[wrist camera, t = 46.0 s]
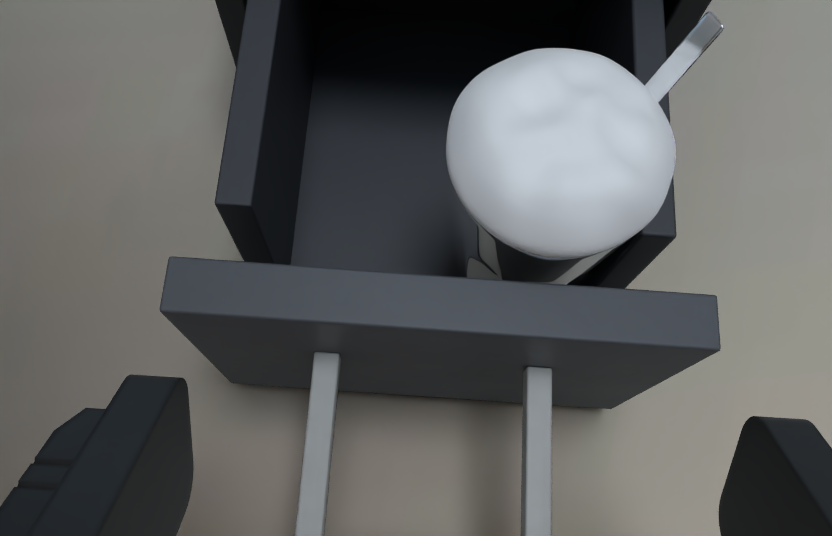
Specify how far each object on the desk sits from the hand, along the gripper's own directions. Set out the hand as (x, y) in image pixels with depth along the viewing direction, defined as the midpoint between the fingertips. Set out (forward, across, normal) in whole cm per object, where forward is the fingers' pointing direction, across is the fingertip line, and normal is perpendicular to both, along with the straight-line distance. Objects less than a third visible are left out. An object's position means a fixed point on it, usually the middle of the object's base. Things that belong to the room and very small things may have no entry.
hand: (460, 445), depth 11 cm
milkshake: (+12, -3, +3) cm, 13 cm away
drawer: (+13, 0, +3) cm, 13 cm away
